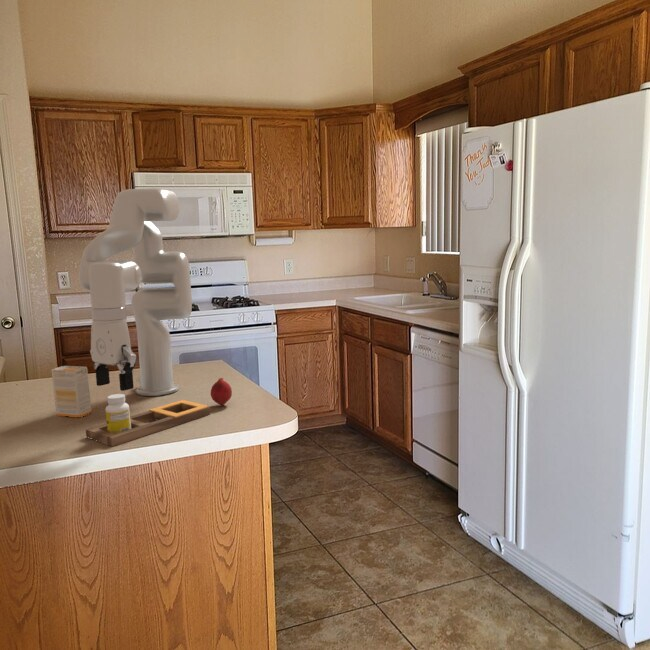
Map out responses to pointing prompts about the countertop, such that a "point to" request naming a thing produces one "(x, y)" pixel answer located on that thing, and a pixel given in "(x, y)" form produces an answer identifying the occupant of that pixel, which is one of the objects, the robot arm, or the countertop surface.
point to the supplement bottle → (117, 414)
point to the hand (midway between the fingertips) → (114, 387)
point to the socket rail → (163, 414)
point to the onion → (221, 392)
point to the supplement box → (71, 391)
